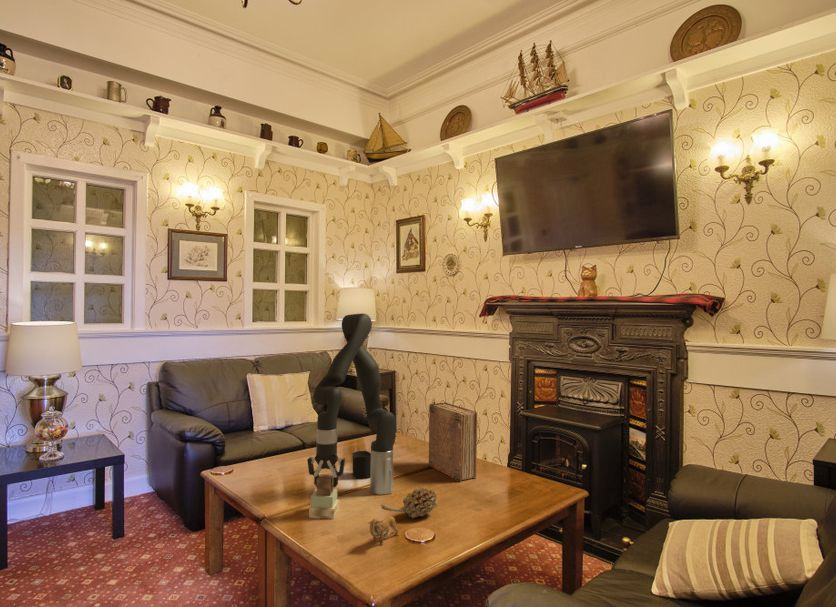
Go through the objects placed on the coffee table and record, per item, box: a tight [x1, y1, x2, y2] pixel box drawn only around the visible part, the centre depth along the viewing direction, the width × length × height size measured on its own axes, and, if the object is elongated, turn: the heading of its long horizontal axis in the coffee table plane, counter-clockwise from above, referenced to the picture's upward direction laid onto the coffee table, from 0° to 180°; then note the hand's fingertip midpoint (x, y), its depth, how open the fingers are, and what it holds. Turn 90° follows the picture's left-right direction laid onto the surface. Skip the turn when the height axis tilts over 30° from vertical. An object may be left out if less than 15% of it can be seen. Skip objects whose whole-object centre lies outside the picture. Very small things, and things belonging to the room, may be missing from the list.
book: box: [428, 402, 478, 483], centre depth 233 cm, size 25×9×30 cm, turn 32°
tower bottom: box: [308, 498, 340, 520], centre depth 184 cm, size 9×9×4 cm
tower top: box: [310, 487, 338, 508], centre depth 185 cm, size 8×8×4 cm
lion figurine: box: [369, 515, 399, 547], centre depth 164 cm, size 15×5×9 cm, turn 154°
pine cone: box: [380, 487, 439, 519], centre depth 182 cm, size 22×10×10 cm, turn 115°
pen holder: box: [351, 450, 371, 480], centre depth 226 cm, size 9×9×10 cm
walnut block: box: [316, 473, 334, 496], centre depth 184 cm, size 5×5×6 cm
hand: (325, 486), depth 184 cm, fingers open, 6 cm apart
